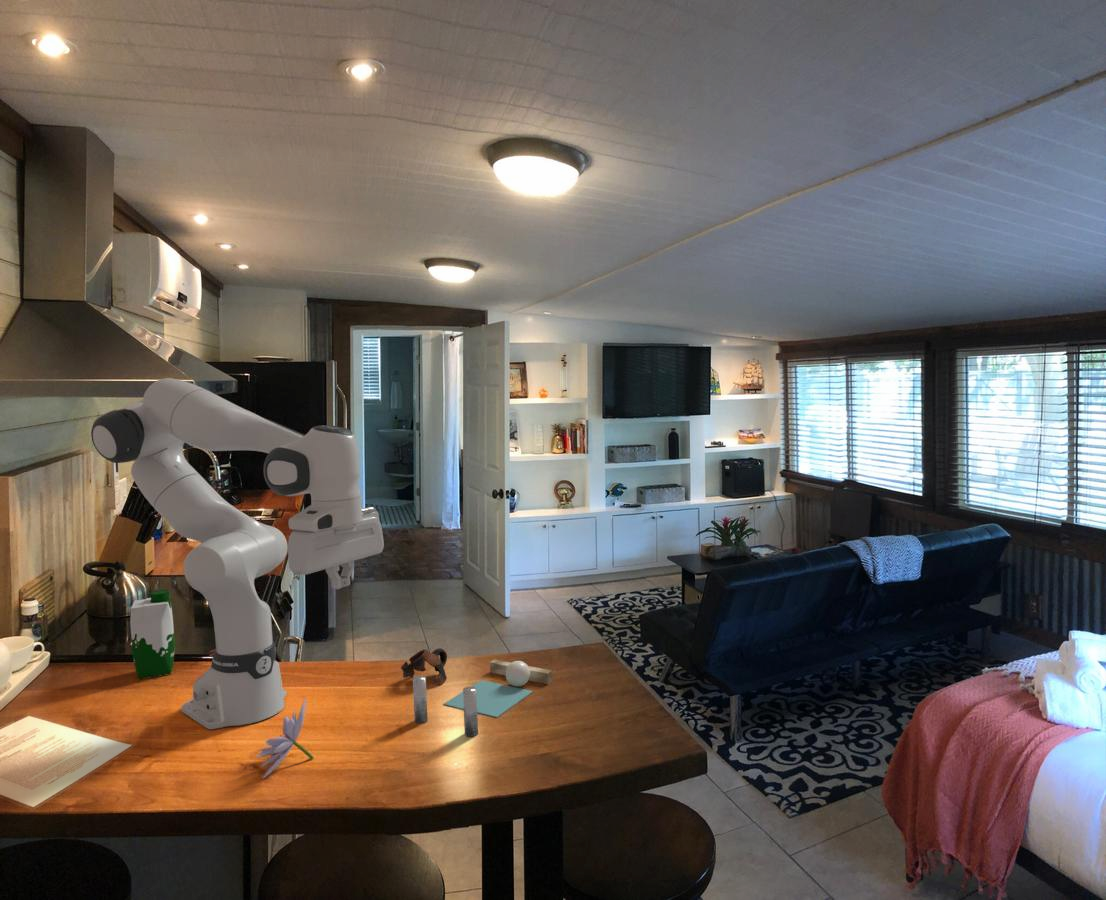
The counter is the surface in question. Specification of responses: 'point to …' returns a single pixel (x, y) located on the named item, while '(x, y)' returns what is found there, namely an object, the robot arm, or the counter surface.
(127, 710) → the counter surface
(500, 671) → the stopper strip
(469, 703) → the post
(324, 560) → the robot arm
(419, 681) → the post
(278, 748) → the water lily
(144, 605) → the milk carton
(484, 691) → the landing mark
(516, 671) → the ball
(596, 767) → the counter surface
